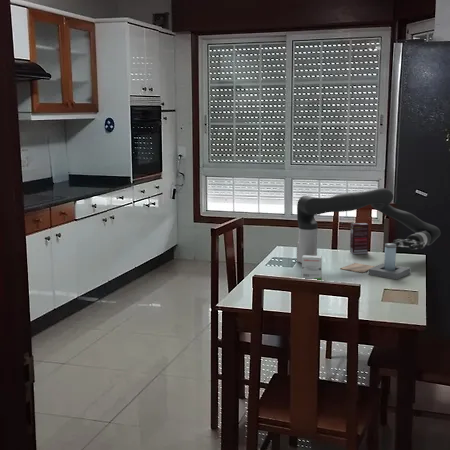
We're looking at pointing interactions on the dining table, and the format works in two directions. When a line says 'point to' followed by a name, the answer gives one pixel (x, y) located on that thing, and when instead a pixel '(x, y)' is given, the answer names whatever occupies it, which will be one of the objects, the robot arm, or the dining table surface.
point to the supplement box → (359, 238)
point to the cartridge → (390, 256)
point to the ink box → (312, 267)
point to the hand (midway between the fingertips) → (402, 246)
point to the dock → (389, 272)
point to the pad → (357, 267)
